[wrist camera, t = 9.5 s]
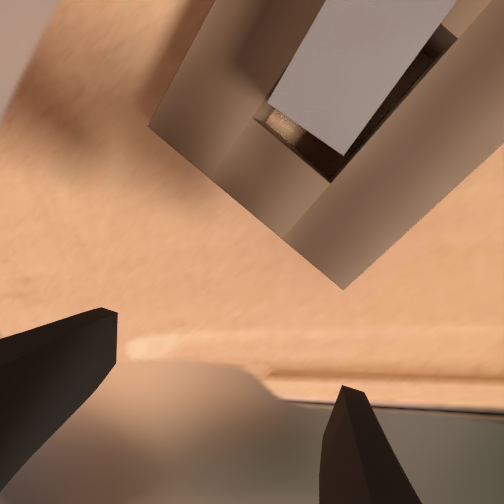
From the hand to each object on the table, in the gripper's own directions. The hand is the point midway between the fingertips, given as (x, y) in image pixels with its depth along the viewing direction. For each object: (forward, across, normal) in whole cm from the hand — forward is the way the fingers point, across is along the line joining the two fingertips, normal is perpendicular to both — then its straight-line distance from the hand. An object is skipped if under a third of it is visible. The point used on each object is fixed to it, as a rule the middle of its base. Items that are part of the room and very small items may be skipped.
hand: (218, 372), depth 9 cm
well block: (+9, -1, -9) cm, 13 cm away
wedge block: (+10, -2, -10) cm, 14 cm away
